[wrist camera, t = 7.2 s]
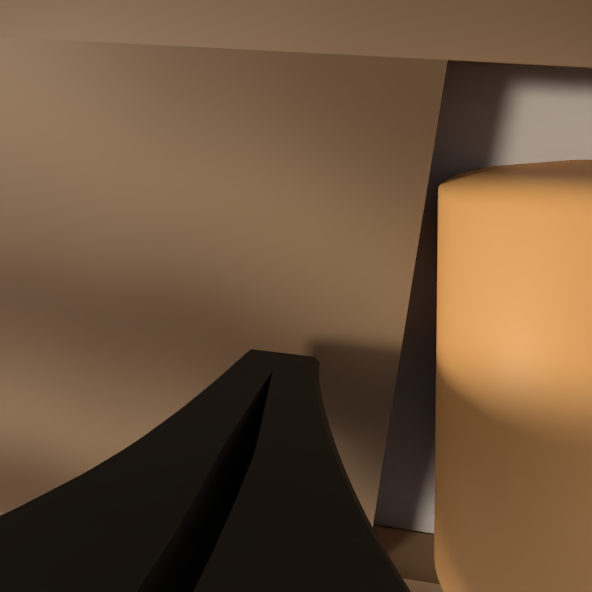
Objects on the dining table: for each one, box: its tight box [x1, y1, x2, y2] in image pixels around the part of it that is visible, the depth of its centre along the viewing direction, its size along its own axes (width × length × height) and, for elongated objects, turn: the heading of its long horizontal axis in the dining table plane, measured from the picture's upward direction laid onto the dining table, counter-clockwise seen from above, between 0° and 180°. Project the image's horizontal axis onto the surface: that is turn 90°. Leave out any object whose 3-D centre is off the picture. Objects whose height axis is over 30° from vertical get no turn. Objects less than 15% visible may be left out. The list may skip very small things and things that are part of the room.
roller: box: [434, 160, 592, 592], centre depth 10 cm, size 9×4×4 cm, turn 6°
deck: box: [0, 0, 592, 592], centre depth 11 cm, size 18×24×2 cm
